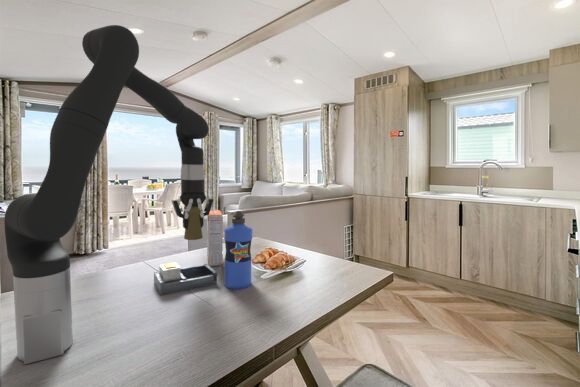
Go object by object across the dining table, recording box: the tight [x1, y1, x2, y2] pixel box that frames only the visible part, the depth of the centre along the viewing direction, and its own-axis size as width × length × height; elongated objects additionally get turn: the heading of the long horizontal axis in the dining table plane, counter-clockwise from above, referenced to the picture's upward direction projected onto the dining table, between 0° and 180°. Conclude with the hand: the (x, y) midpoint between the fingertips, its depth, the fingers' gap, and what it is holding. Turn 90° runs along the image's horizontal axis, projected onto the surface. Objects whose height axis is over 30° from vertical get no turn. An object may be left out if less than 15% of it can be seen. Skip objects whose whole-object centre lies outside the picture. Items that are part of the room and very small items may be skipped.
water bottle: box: [223, 210, 253, 290], centre depth 101 cm, size 9×9×25 cm
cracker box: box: [206, 209, 224, 267], centre depth 125 cm, size 14×6×21 cm, turn 17°
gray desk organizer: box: [153, 262, 218, 296], centre depth 101 cm, size 10×18×7 cm, turn 125°
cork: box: [183, 207, 203, 241], centre depth 101 cm, size 6×6×11 cm
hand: (193, 228), depth 102 cm, fingers closed on cork, 4 cm apart
